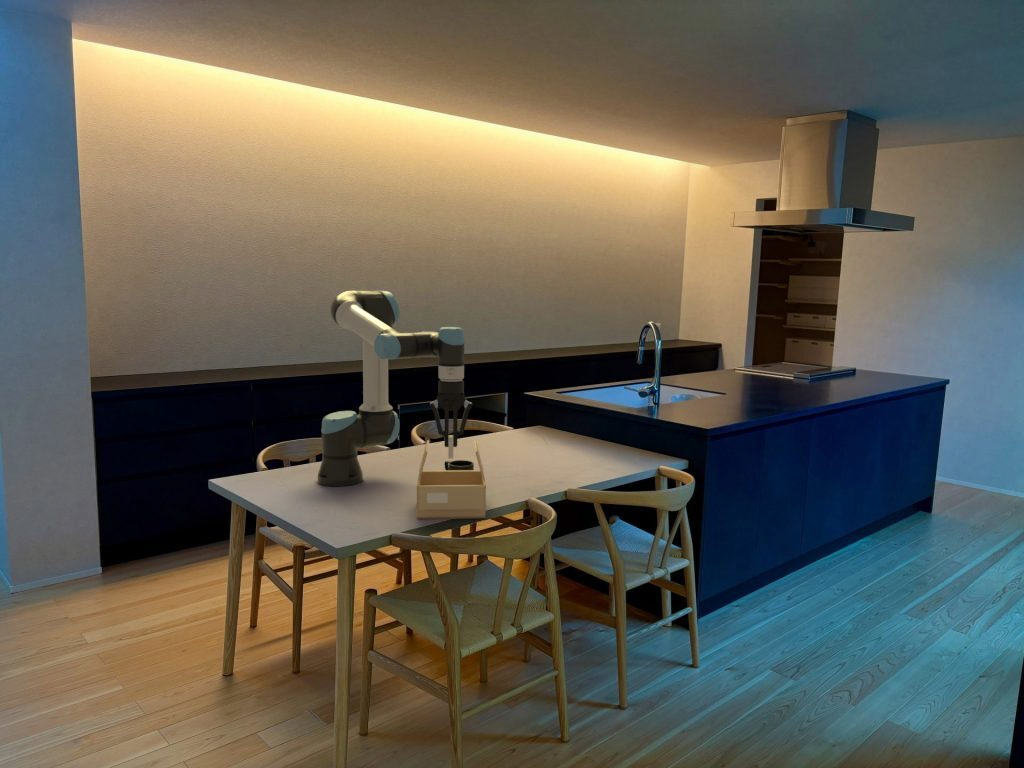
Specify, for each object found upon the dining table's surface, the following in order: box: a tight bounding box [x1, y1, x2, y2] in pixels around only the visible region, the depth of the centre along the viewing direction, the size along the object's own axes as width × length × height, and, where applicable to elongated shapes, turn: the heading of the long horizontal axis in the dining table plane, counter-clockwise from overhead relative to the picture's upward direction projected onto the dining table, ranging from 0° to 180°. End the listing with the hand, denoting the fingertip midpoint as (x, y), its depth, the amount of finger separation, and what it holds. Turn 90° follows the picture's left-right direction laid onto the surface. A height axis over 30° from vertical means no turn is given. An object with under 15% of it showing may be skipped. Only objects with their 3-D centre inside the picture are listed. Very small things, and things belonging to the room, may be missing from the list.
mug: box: [443, 459, 475, 470], centre depth 243 cm, size 8×12×10 cm
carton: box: [416, 469, 487, 520], centre depth 222 cm, size 20×18×10 cm
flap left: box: [417, 439, 430, 481], centre depth 219 cm, size 1×15×9 cm, turn 5°
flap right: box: [473, 439, 486, 481], centre depth 221 cm, size 1×15×9 cm, turn 4°
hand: (450, 457), depth 220 cm, fingers closed
